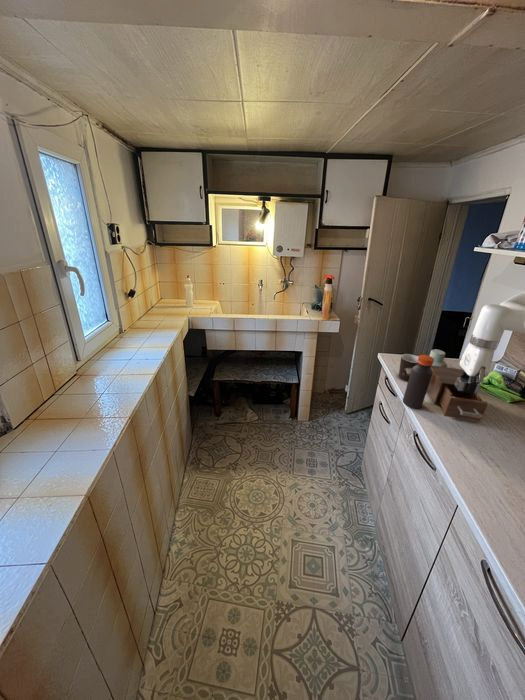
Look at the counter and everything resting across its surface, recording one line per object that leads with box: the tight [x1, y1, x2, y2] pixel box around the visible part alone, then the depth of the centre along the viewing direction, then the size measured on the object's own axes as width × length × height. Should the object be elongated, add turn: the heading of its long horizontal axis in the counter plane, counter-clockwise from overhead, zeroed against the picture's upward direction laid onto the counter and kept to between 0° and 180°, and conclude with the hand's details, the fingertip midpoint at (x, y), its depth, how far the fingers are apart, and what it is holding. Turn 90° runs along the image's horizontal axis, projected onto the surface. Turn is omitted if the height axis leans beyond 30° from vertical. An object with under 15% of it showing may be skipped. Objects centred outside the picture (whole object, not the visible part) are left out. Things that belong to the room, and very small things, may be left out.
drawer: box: [438, 385, 489, 423], centre depth 102 cm, size 18×11×8 cm, turn 166°
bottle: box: [402, 354, 434, 409], centre depth 105 cm, size 7×7×20 cm
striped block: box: [454, 377, 481, 394], centre depth 100 cm, size 6×4×4 cm
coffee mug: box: [398, 353, 419, 383], centre depth 124 cm, size 12×9×10 cm
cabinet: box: [427, 366, 479, 406], centre depth 113 cm, size 15×13×10 cm
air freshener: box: [429, 348, 448, 368], centre depth 133 cm, size 11×8×10 cm
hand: (465, 388), depth 101 cm, fingers closed on striped block, 4 cm apart
